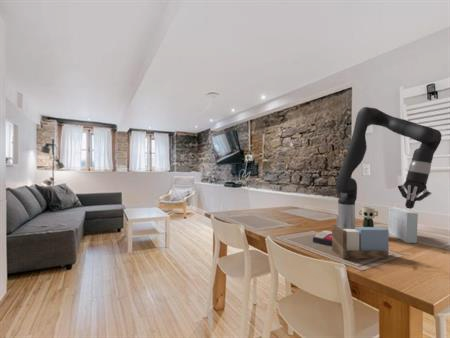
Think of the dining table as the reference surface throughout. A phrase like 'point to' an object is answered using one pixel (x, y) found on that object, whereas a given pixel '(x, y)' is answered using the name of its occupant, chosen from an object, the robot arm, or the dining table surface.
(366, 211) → the character mug
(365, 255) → the book rack
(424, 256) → the dining table surface
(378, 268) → the dining table surface
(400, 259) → the dining table surface
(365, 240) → the loose book
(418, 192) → the robot arm
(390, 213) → the skincare box
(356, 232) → the shelved book
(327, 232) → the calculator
